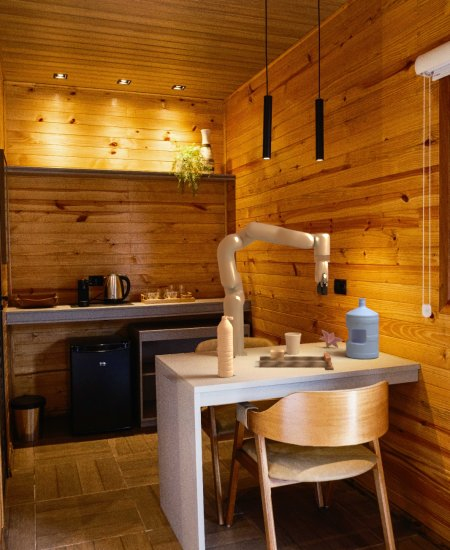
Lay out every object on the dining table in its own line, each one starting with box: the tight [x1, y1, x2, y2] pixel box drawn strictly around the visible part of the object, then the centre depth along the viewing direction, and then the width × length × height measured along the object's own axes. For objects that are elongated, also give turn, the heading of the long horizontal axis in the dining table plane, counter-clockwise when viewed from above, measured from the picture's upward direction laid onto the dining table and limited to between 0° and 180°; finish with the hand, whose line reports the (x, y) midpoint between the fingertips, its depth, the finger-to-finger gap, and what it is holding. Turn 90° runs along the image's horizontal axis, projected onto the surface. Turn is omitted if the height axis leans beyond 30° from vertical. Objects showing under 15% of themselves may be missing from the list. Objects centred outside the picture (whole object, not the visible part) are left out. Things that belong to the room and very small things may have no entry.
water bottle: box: [216, 315, 234, 378], centre depth 232 cm, size 9×6×25 cm
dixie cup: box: [284, 332, 302, 356], centre depth 281 cm, size 8×8×10 cm
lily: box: [318, 329, 344, 349], centre depth 294 cm, size 12×12×10 cm
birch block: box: [270, 349, 285, 361], centre depth 251 cm, size 6×6×6 cm
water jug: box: [345, 297, 380, 360], centre depth 271 cm, size 16×16×28 cm
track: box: [258, 352, 334, 371], centre depth 250 cm, size 32×14×5 cm, turn 85°
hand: (322, 294), depth 272 cm, fingers open, 9 cm apart
